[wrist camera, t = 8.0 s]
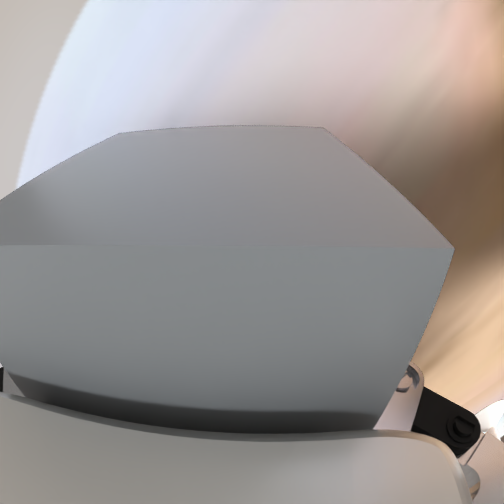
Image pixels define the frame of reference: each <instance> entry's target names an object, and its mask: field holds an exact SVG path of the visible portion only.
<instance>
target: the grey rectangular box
mask: <svg viewBox="0 0 504 504" xmlns="http://www.w3.org/2000/svg"><path fill="white" fill-rule="evenodd" d="M454 250H455V248H454V247H453V246H452V245H451V244H450V242H449V241H448V240H447V239H446V238H445V237H444V236H443V235H442V234H441V233H440V232H439V231H438V230H437V229H436V228H435V227H434V226H433V224H432V223H431V222H430V221H429V220H428V219H427V218H426V217H425V216H424V215H423V214H422V213H421V212H420V211H419V210H418V209H417V208H416V207H415V206H414V205H412V204H411V203H410V202H409V201H408V200H407V199H406V198H405V197H404V196H403V195H402V194H401V193H400V192H399V191H398V190H397V189H396V188H395V187H393V186H392V185H391V184H390V183H389V182H388V181H387V180H386V179H385V178H384V177H382V176H381V175H380V174H379V173H378V172H377V171H376V170H374V169H373V168H372V167H371V166H370V165H369V164H368V163H366V162H365V161H364V160H363V159H362V158H361V157H359V156H358V155H357V154H356V153H355V152H353V151H352V150H351V149H350V148H348V147H347V146H346V145H345V144H344V143H342V142H341V141H340V140H339V139H337V138H336V137H335V136H333V135H332V134H331V133H330V132H328V131H327V130H326V129H324V128H319V127H300V126H262V125H240V126H202V127H183V128H168V129H156V130H145V131H135V132H126V133H119V134H116V135H114V136H112V137H110V138H108V139H106V140H104V141H102V142H100V143H98V144H96V145H94V146H92V147H90V148H88V149H86V150H84V151H82V152H80V153H78V154H76V155H74V156H72V157H70V158H69V159H67V160H65V161H63V162H61V163H60V164H58V165H56V166H54V167H52V168H51V169H49V170H47V171H46V172H44V173H42V174H40V175H39V176H37V177H35V178H34V179H32V180H31V181H29V182H27V183H26V184H24V185H23V186H21V187H19V188H18V189H16V190H15V191H13V192H12V193H10V194H9V195H7V196H6V197H4V198H3V199H1V200H0V363H1V364H2V366H3V367H4V369H5V370H6V372H7V373H8V374H9V376H10V377H11V379H12V380H13V381H14V383H15V384H16V386H17V387H18V388H19V390H20V391H21V392H22V394H23V395H24V396H25V397H26V398H29V399H33V400H36V401H40V402H43V403H47V404H51V405H55V406H58V407H62V408H66V409H70V410H74V411H78V412H82V413H87V414H91V415H96V416H100V417H105V418H110V419H116V420H121V421H127V422H132V423H138V424H145V425H152V426H159V427H167V428H175V429H185V430H195V431H208V432H223V433H248V434H290V433H320V432H337V431H353V430H373V428H374V427H375V425H376V424H377V422H378V420H379V419H380V417H381V415H382V414H383V412H384V410H385V408H386V407H387V405H388V403H389V401H390V400H391V398H392V396H393V394H394V392H395V390H396V389H397V387H398V385H399V383H400V381H401V379H402V377H403V375H404V373H405V371H406V369H407V367H408V365H409V363H410V361H411V359H412V357H413V355H414V353H415V351H416V349H417V347H418V344H419V342H420V340H421V338H422V336H423V333H424V331H425V329H426V326H427V324H428V322H429V319H430V317H431V314H432V312H433V309H434V307H435V304H436V302H437V299H438V297H439V294H440V291H441V289H442V286H443V283H444V280H445V277H446V275H447V272H448V269H449V266H450V263H451V260H452V257H453V253H454Z"/></svg>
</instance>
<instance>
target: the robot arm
mask: <svg viewBox="0 0 504 504" xmlns="http://www.w3.org/2000/svg"><path fill="white" fill-rule="evenodd" d="M0 504H504V443H503V442H501V441H500V440H499V439H497V438H496V437H495V436H493V435H492V434H490V433H489V432H487V433H486V434H484V433H483V432H481V425H480V423H479V420H478V419H477V417H476V416H475V415H474V414H473V413H471V412H470V411H468V410H466V409H465V408H463V407H461V406H459V405H457V404H455V403H453V402H451V401H450V400H448V399H446V398H444V397H442V396H440V395H439V394H437V393H435V392H433V391H431V390H429V389H428V388H426V387H424V376H423V373H422V371H421V370H420V369H419V367H418V366H416V365H415V364H414V363H412V362H410V363H409V365H408V367H407V369H406V371H405V373H404V375H403V377H402V379H401V381H400V383H399V385H398V387H397V389H396V390H395V392H394V394H393V396H392V398H391V400H390V401H389V403H388V405H387V407H386V408H385V410H384V412H383V414H382V415H381V417H380V419H379V420H378V422H377V424H376V425H375V427H374V428H373V430H353V431H337V432H320V433H290V434H248V433H223V432H208V431H195V430H185V429H175V428H167V427H159V426H152V425H145V424H138V423H132V422H127V421H121V420H116V419H110V418H105V417H100V416H96V415H91V414H87V413H82V412H78V411H74V410H70V409H66V408H62V407H58V406H55V405H51V404H47V403H43V402H40V401H36V400H33V399H29V398H26V397H25V396H24V395H23V394H22V392H21V391H20V390H19V388H18V387H17V386H16V384H15V383H14V381H13V380H12V379H11V377H10V376H9V374H8V373H7V372H6V370H5V369H4V367H1V368H0Z"/></svg>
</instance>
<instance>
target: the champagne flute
mask: <svg viewBox="0 0 504 504" xmlns="http://www.w3.org/2000/svg"><path fill="white" fill-rule="evenodd" d="M503 412H504V400H500V401H497V402H495V403H493V404H491V405H489V406H487V407H486V408H484V409H482V410H481V411H480V412H478V413H477V414H475V416H476V417H477V419H478V420H479V423H480V425H481V432H489V433H490V434H492V435H493V436H495V437H496V438H497V439H499V440H500V437H499V435H498V432H497V430H496V427H495V426H496V424H497V423H498V421H499V419H500V417H501V416H502V414H503ZM500 441H501V440H500Z"/></svg>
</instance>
